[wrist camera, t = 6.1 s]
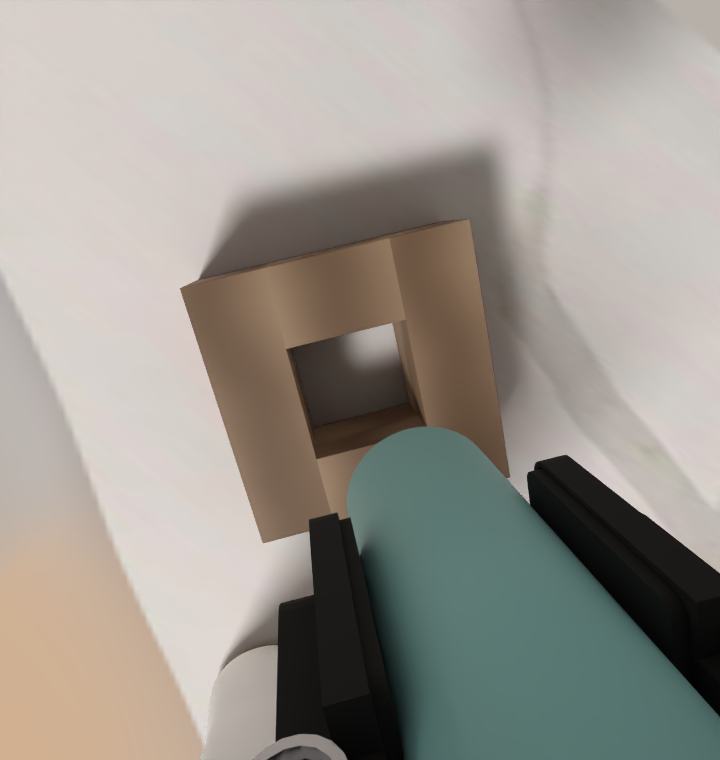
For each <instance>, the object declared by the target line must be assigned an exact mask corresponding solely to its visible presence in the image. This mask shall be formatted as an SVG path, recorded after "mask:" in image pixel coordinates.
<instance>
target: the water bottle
mask: <svg viewBox="0 0 720 760" xmlns="http://www.w3.org/2000/svg"><path fill="white" fill-rule="evenodd" d="M277 658H278V645H270V646H263V647H258V648H255V649H252V650H249V651H247V652H245V653H243V654H241V655H239V656H238V657H236V658H235V659H233V660H232V661H231V662H229V663H228V664H227V665H226V666H225V667H224V668H223V670H222V671H221V672H220V674H219V675H218V677H217V679H216V681H215V683H214V685H213V688H212V692H211V696H210V701H209V707H208V713H207V721H206V734H205V746H204V749H203V752H202V755H201V758H200V760H253V759H254V758H255V757H256V756H257V755H258V754H259V753H260V752H261V751H262V750H263V749H265V748H266V747H268V746H270V745H272V744H273V743H275V737H276V698H277Z"/></svg>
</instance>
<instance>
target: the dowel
mask: <svg viewBox="0 0 720 760" xmlns="http://www.w3.org/2000/svg"><path fill="white" fill-rule="evenodd" d="M347 511H348V517H350V518H351V522H352V526H353V530H354V534H355V538H356V543H357V547H358V551H359V555H360V560H361V564H362V569H363V573H364V578H365V582H366V587H367V591H368V596H369V600H370V605H371V609H372V614H373V618H374V622H375V627H376V631H377V636H378V640H379V645H380V649H381V654H382V658H383V663H384V667H385V672H386V676H387V681H388V685H389V690H390V694H391V699H392V703H393V708H394V712H395V717H396V721H397V726H398V730H399V735H400V739H401V744H402V748H403V760H720V717H719V715H718V714H717V713H716V712H715V711H714V710H713V709H712V708H711V707H710V705H709V704H708V703H707V702H706V701H705V700H704V699H703V698H702V696H701V695H700V694H699V693H698V692H697V691H696V690H695V689H694V688H693V686H692V685H691V684H690V683H689V682H688V681H687V680H686V679H685V677H684V676H683V675H682V674H681V673H680V672H679V671H678V670H677V669H676V667H675V666H674V665H673V664H672V663H671V662H670V661H669V660H668V659H667V657H666V656H665V655H664V654H663V653H662V652H661V651H660V650H659V648H658V647H657V646H656V645H655V644H654V643H653V642H652V641H651V640H650V638H649V637H648V636H647V635H646V634H645V633H644V632H643V631H642V629H641V628H640V627H639V626H638V625H637V624H636V623H635V622H634V621H633V619H632V618H631V617H630V616H629V615H628V614H627V613H626V612H625V610H624V609H623V608H622V607H621V606H620V605H619V604H618V603H617V602H616V600H615V599H614V598H613V597H612V596H611V595H610V594H609V593H608V591H607V590H606V589H605V588H604V587H603V586H602V585H601V584H600V583H599V581H598V580H597V579H596V578H595V577H594V576H593V575H592V574H591V572H590V571H589V570H588V569H587V568H586V567H585V566H584V565H583V564H582V562H581V561H580V560H579V559H578V558H577V557H576V556H575V555H574V554H573V552H572V551H571V550H570V549H569V548H568V547H567V546H566V545H565V543H564V542H563V541H562V540H561V539H560V538H559V537H558V536H557V535H556V533H555V532H554V531H553V530H552V529H551V528H550V527H549V526H548V524H547V523H546V522H545V521H544V520H543V519H542V518H541V517H540V516H539V514H538V513H537V512H536V511H535V510H534V509H533V508H532V507H531V505H530V504H529V503H528V502H527V501H526V500H525V499H524V498H523V497H522V495H521V494H520V493H519V492H518V491H517V490H516V489H515V488H514V486H513V485H512V484H511V483H510V482H509V481H508V480H507V479H506V478H505V476H504V475H503V474H502V473H501V472H500V471H499V470H498V469H497V468H496V466H495V465H494V464H493V463H492V462H491V461H490V460H489V459H488V457H487V456H486V455H485V454H484V453H483V452H482V451H481V450H480V449H479V447H477V446H476V445H475V444H474V443H473V442H472V441H471V440H469V439H468V438H467V437H465V436H463V435H461V434H459V433H457V432H455V431H452V430H449V429H445V428H440V427H430V426H427V427H416V428H410V429H406V430H403V431H400V432H397V433H395V434H393V435H390V436H389V437H387V438H385V439H384V440H382V441H380V442H379V443H378V444H376V445H375V446H374V447H373V448H372V449H371V450H370V451H369V452H368V453H367V454H366V455H365V456H364V457H363V458H362V460H361V461H360V462H359V464H358V465H357V467H356V469H355V470H354V473H353V475H352V477H351V480H350V483H349V487H348V492H347Z"/></svg>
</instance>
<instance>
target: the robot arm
mask: <svg viewBox="0 0 720 760" xmlns="http://www.w3.org/2000/svg"><path fill="white" fill-rule="evenodd" d="M527 482H528V491H529V499H530V505H531V507H532V508H533V509H534V510H535V511H536V512H537V513H538V514H539V516H540V517H541V518H542V519H543V520H544V521H545V522H546V523H547V524H548V526H549V527H550V528H551V529H552V530H553V531H554V532H555V533H556V535H557V536H558V537H559V538H560V539H561V540H562V541H563V542H564V543H565V545H566V546H567V547H568V548H569V549H570V550H571V551H572V552H573V554H574V555H575V556H576V557H577V558H578V559H579V560H580V561H581V562H582V564H583V565H584V566H585V567H586V568H587V569H588V570H589V571H590V572H591V574H592V575H593V576H594V577H595V578H596V579H597V580H598V581H599V583H600V584H601V585H602V586H603V587H604V588H605V589H606V590H607V591H608V593H609V594H610V595H611V596H612V597H613V598H614V599H615V600H616V602H617V603H618V604H619V605H620V606H621V607H622V608H623V609H624V610H625V612H626V613H627V614H628V615H629V616H630V617H631V618H632V619H633V621H634V622H635V623H636V624H637V625H638V626H639V627H640V628H641V629H642V631H643V632H644V633H645V634H646V635H647V636H648V637H649V638H650V640H651V641H652V642H653V643H654V644H655V645H656V646H657V647H658V648H659V650H660V651H661V652H662V653H663V654H664V655H665V656H666V657H667V659H668V660H669V661H670V662H671V663H672V664H673V665H674V666H675V667H676V669H677V670H678V671H679V672H680V673H681V674H682V675H683V676H684V677H685V679H686V680H687V681H688V682H689V683H690V684H691V685H692V686H693V688H694V689H695V690H696V691H697V692H698V693H699V694H700V695H701V696H702V698H703V699H704V700H705V701H706V702H707V703H708V704H709V705H710V707H711V708H712V709H713V710H714V711H715V712H716V713H717V714H718V715H719V717H720V573H719V572H717V571H716V570H715V569H713V568H712V567H711V566H710V565H708V564H707V563H706V562H705V561H703V560H702V559H701V558H699V557H698V556H697V555H696V554H694V553H693V552H692V551H690V550H689V549H688V548H687V547H685V546H684V545H683V544H682V543H680V542H679V541H678V540H676V539H675V538H674V537H673V536H671V535H670V534H669V533H668V532H666V531H665V530H664V529H662V528H661V527H660V526H659V525H657V524H656V523H655V522H654V521H652V520H651V519H650V518H648V517H647V516H646V515H644V514H642V513H641V512H639V511H638V510H636V509H635V508H634V507H633V506H631V505H630V504H629V503H627V502H626V501H625V500H624V499H622V498H621V497H620V496H619V495H617V494H616V493H615V492H613V491H612V490H611V489H610V488H608V487H607V486H606V485H605V484H603V483H602V482H601V481H600V480H598V479H597V478H596V477H594V476H593V475H592V474H591V473H589V472H588V471H587V470H586V469H584V468H583V467H582V466H581V465H579V464H578V463H577V462H575V461H574V460H573V459H572V458H570V457H569V456H567V455H562V456H558V457H554V458H551V459H547V460H543V461H539V462H536V464H535V467H534V471H531V472H528V474H527ZM309 532H310V546H311V560H312V573H313V587H314V595H311V596H307V597H304V598H300V599H296V600H292V601H288V602H285V603H281V604H280V606H279V619H278V658H277V698H276V737H275V743H273V744H272V745H270V746H268V747H266V748H265V749H263V750H262V751H261V752H260V753H259V754H258V755H257V756H256V757H255V758H254V759H253V760H403V748H402V744H401V739H400V735H399V730H398V726H397V721H396V717H395V712H394V708H393V703H392V699H391V694H390V690H389V685H388V681H387V676H386V672H385V667H384V663H383V658H382V654H381V649H380V645H379V640H378V636H377V631H376V627H375V622H374V618H373V614H372V609H371V605H370V600H369V596H368V591H367V587H366V582H365V578H364V573H363V569H362V564H361V560H360V555H359V551H358V547H357V543H356V538H355V534H354V530H353V526H352V522H351V518H350V517H349V518H345V519H341V520H339V516H338V513H333V514H329V515H325V516H321V517H317V518H313V519H309Z"/></svg>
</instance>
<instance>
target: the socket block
mask: <svg viewBox="0 0 720 760" xmlns="http://www.w3.org/2000/svg"><path fill="white" fill-rule="evenodd" d="M180 290H181V293H182V296H183V299H184V302H185V306H186V309H187V312H188V315H189V318H190V321H191V324H192V327H193V330H194V333H195V336H196V339H197V342H198V345H199V349H200V352H201V355H202V358H203V361H204V364H205V367H206V370H207V373H208V376H209V379H210V382H211V385H212V388H213V392H214V395H215V398H216V401H217V404H218V407H219V410H220V413H221V416H222V419H223V422H224V425H225V428H226V431H227V435H228V438H229V441H230V444H231V447H232V450H233V453H234V456H235V459H236V462H237V465H238V468H239V471H240V474H241V478H242V481H243V484H244V487H245V490H246V493H247V496H248V499H249V502H250V505H251V508H252V511H253V514H254V518H255V521H256V524H257V527H258V530H259V533H260V536H261V539H262V542H263V543H266V542H270V541H274V540H278V539H281V538H285V537H289V536H292V535H296V534H300V533H304V532H307V531H309V519H313V518H317V517H321V516H325V515H329V514H333V513H338V516H339V520H341V519H345V518H349V517H348V511H347V492H348V487H349V483H350V480H351V477H352V475H353V473H354V470H355V469H356V467H357V465H358V464H359V462H360V461H361V460H362V458H363V457H364V456H365V455H366V454H367V453H368V452H369V451H370V450H371V449H372V448H373V447H374V446H375V445H376V444H378V443H379V442H380V441H382V440H384V439H385V438H387V437H389V436H390V435H393V434H395V433H397V432H400V431H403V430H406V429H410V428H416V427H427V426H430V427H440V428H445V429H449V430H452V431H455V432H457V433H459V434H461V435H463V436H465V437H467V438H468V439H469V440H471V441H472V442H473V443H474V444H475V445H476V446H477V447H479V449H480V450H481V451H482V452H483V453H484V454H485V455H486V456H487V457H488V459H489V460H490V461H491V462H492V463H493V464H494V465H495V466H496V468H497V469H498V470H499V471H500V472H501V473H502V474H503V475H504V476H505V478H509V477H510V473H509V467H508V460H507V454H506V448H505V441H504V435H503V429H502V422H501V416H500V409H499V403H498V397H497V390H496V384H495V378H494V371H493V365H492V358H491V352H490V346H489V339H488V333H487V327H486V320H485V314H484V307H483V301H482V295H481V288H480V282H479V276H478V269H477V263H476V256H475V250H474V244H473V237H472V231H471V225H470V219H465V220H454V221H443V222H439V223H434V224H430V225H426V226H422V227H418V228H413V229H409V230H405V231H401V232H397V233H393V234H388V235H384V236H380V237H376V238H372V239H367V240H363V241H359V242H355V243H351V244H346V245H342V246H338V247H334V248H330V249H326V250H321V251H317V252H313V253H309V254H305V255H300V256H296V257H292V258H288V259H284V260H280V261H275V262H271V263H267V264H263V265H259V266H254V267H250V268H246V269H242V270H238V271H234V272H229V273H225V274H221V275H217V276H213V277H208V278H204V279H200V280H197V281H195V282H193V283H190V284H188V285H186V286H184V287H182V288H180ZM389 323H393V327H394V332H395V336H396V341H397V346H398V351H399V355H400V360H401V365H402V370H403V374H404V379H405V384H406V389H407V393H408V398H409V403H408V404H404V405H400V406H396V407H392V408H388V409H384V410H380V411H377V412H373V413H369V414H365V415H361V416H357V417H353V418H349V419H345V420H342V421H338V422H334V423H330V424H326V425H322V426H318V427H314V428H313V425H312V421H311V417H310V414H309V410H308V406H307V403H306V399H305V395H304V392H303V388H302V384H301V381H300V377H299V373H298V370H297V366H296V362H295V359H294V355H293V351H292V347H296V346H300V345H304V344H309V343H313V342H317V341H321V340H325V339H329V338H333V337H337V336H341V335H345V334H349V333H353V332H357V331H361V330H365V329H369V328H373V327H377V326H381V325H385V324H389Z"/></svg>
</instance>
